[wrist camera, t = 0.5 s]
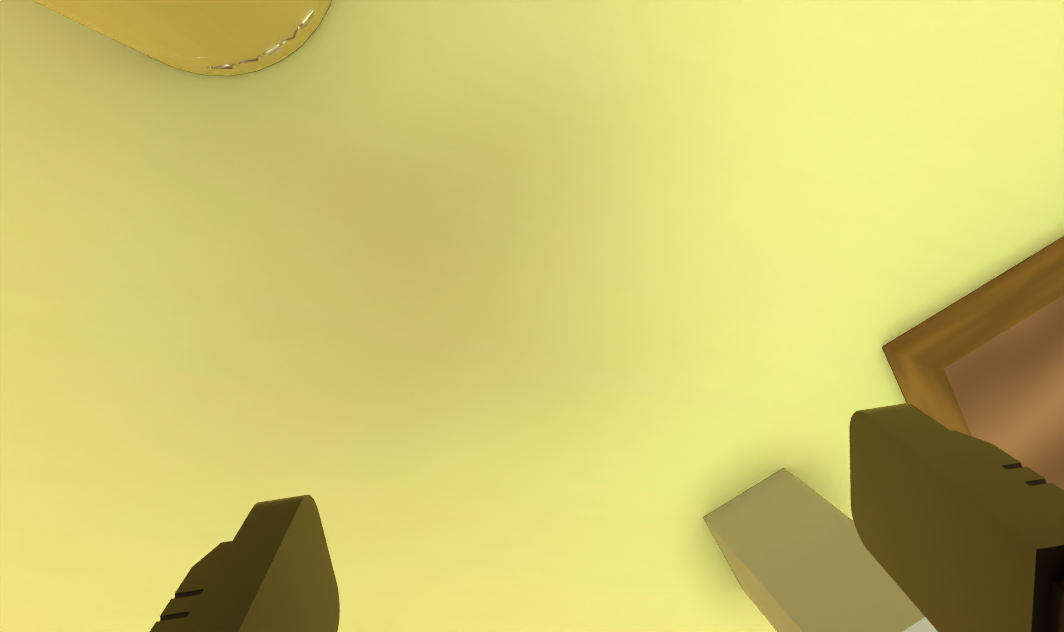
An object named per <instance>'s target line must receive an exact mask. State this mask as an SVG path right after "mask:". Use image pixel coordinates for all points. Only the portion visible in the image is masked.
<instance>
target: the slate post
mask: <svg viewBox="0 0 1064 632" xmlns="http://www.w3.org/2000/svg"><path fill="white" fill-rule="evenodd" d="M703 518H704V520H705V522H706V523H707V525H708V527H709V529H710V531H711V532H712V534H713V536H714V538H715V540H716V542H717V543H718V545H719V547H720V549H721V551H722V552H723V554H724V556H725V558H726V560H727V562H728V563H729V565H730V567H731V569H732V571H733V572H734V574H735V576H736V578H737V580H738V582H739V583H740V585H741V587H742V589H743V590H744V592H745V593H746V594H747V595H748V596H749V598H750V599H751V600H752V601H753V603H754V604H755V605H756V606H757V607H758V609H759V610H760V611H761V612H762V614H763V615H764V616H765V617H766V619H767V620H768V621H769V622H770V623H771V625H772V626H773V627H774V628H775V630H776V631H777V632H938V631H937V630H936V629H935V628H934V626H933V625H932V624H931V623H930V622H929V621H928V619H927V618H926V617H925V616H924V615H923V614H922V613H921V611H920V610H919V609H918V608H917V607H916V606H915V604H914V603H913V602H912V601H911V600H910V599H909V597H908V596H907V595H906V594H905V593H904V592H903V591H902V589H901V588H900V587H899V586H898V585H897V584H896V582H895V581H894V580H893V579H892V578H891V577H890V576H889V574H888V573H887V572H886V571H885V570H884V569H883V567H882V566H881V565H880V564H879V563H878V562H877V560H876V559H875V558H874V557H873V556H872V555H871V554H870V552H869V551H868V550H867V549H866V547H865V546H864V544H863V543H862V541H861V539H860V537H859V535H858V532H857V530H856V527H855V524H854V521H853V520H851V519H850V518H849V517H847V516H846V515H845V514H843V513H842V512H841V511H840V510H838V509H837V508H836V507H834V506H833V505H832V504H830V503H829V502H828V501H826V500H825V499H824V498H823V497H821V496H820V495H819V494H817V493H816V492H815V491H813V490H812V489H811V488H809V487H808V486H807V485H806V484H804V483H803V482H802V481H800V480H799V479H798V478H796V477H795V476H794V475H792V474H791V473H790V472H789V471H787V470H786V469H785V468H783V469H781V470H780V471H778V472H776V473H775V474H773V475H772V476H770V477H768V478H767V479H765V480H763V481H762V482H760V483H758V484H757V485H755V486H754V487H752V488H750V489H749V490H747V491H745V492H744V493H742V494H741V495H739V496H737V497H736V498H734V499H732V500H731V501H729V502H728V503H726V504H724V505H723V506H721V507H719V508H718V509H716V510H715V511H713V512H711V513H710V514H708V515H706V516H705V517H703Z"/></svg>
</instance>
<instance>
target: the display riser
mask: <svg viewBox="0 0 1064 632" xmlns="http://www.w3.org/2000/svg"><path fill="white" fill-rule="evenodd" d="M882 348H883V350H884V352H885V355H886V357H887V359H888V361H889V364H890V366H891V368H892V370H893V373H894V375H895V377H896V380H897V382H898V384H899V386H900V389H901V391H902V393H903V395H904V398H905V400H906V402H907V403H908V404H912V405H914V406H915V407H917V408H918V409H920V410H921V411H922V412H924V413H925V414H927V415H928V416H930V417H931V418H933V419H934V420H936V421H937V422H938V423H940V424H941V425H943V426H944V427H946V428H947V429H949V430H956V431H958V432H961V433H964V434H967V435H969V436H972V437H975V438H978V439H981V440H983V441H986V442H989V443H992V444H994V445H995V446H997V447H998V448H1000V449H1001V450H1003V451H1004V452H1006V453H1007V454H1009V455H1010V456H1012V457H1013V458H1015V459H1016V460H1018V461H1019V462H1021V465H1022V467H1029V468H1030V469H1032V470H1033V471H1035V472H1036V473H1038V474H1039V475H1041V476H1042V477H1044V478H1045V479H1046V482H1047V483H1053V484H1054V485H1056V486H1057V487H1059V488H1061V489H1062V490H1064V237H1062V238H1061V239H1059V240H1057V241H1056V242H1054V243H1053V244H1051V245H1049V246H1048V247H1046V248H1044V249H1043V250H1041V251H1039V252H1038V253H1036V254H1034V255H1033V256H1031V257H1030V258H1028V259H1026V260H1025V261H1023V262H1021V263H1020V264H1018V265H1016V266H1015V267H1013V268H1011V269H1010V270H1008V271H1007V272H1005V273H1003V274H1002V275H1000V276H998V277H997V278H995V279H993V280H992V281H990V282H988V283H987V284H985V285H984V286H982V287H980V288H979V289H977V290H975V291H974V292H972V293H970V294H969V295H967V296H965V297H964V298H962V299H961V300H959V301H957V302H956V303H954V304H952V305H951V306H949V307H947V308H946V309H944V310H942V311H941V312H939V313H938V314H936V315H934V316H933V317H931V318H929V319H928V320H926V321H924V322H923V323H921V324H919V325H918V326H916V327H915V328H913V329H911V330H910V331H908V332H906V333H905V334H903V335H901V336H900V337H898V338H896V339H895V340H893V341H892V342H890V343H888V344H887V345H885V346H883V347H882Z"/></svg>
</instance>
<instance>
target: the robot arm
mask: <svg viewBox="0 0 1064 632" xmlns="http://www.w3.org/2000/svg"><path fill="white" fill-rule="evenodd" d="M33 1H35V2H37V3H39V4H42V5H44V6H46V7H48V8H50V9H52V10H54V11H56V12H58V13H60V14H62V15H64V16H67V17H69V18H71V19H73V20H75V21H77V22H79V23H81V24H83V25H85V26H87V27H89V28H91V29H94V30H96V31H98V32H100V33H102V34H104V35H106V36H108V37H110V38H112V39H114V40H116V41H118V42H120V43H122V44H124V45H126V46H129V47H131V48H133V49H135V50H137V51H140V52H142V53H144V54H146V55H148V56H150V57H153V58H155V59H157V60H159V61H161V62H163V63H165V64H168V65H170V66H172V67H174V68H177V69H181V70H186V71H190V72H194V73H198V74H202V75H225V76H231V75H237V74H242V73H248V72H254V71H258V70H260V69H262V68H265V67H267V66H270V65H272V64H274V63H277V62H279V61H281V60H282V59H284V58H285V57H287V56H288V55H289V54H291V53H292V52H293V51H295V50H296V49H298V48H299V47H300V46H302V44H303V43H304V42H305V41H306V40H307V39H308V38H309V36H310V35H311V34H312V33H313V32H314V31H315V30H316V28H317V27H318V26H319V24H320V22H321V20H322V18H323V16H324V15H325V13H326V11H327V9H328V7H329V5H330V3H331V0H33ZM850 481H851V510H852V516H853V520H854V524H855V527H856V530H857V532H858V535H859V537H860V539H861V541H862V543H863V544H864V546H865V547H866V549H867V550H868V551H869V552H870V554H871V555H872V556H873V557H874V558H875V559H876V560H877V562H878V563H879V564H880V565H881V566H882V567H883V569H884V570H885V571H886V572H887V573H888V574H889V576H890V577H891V578H892V579H893V580H894V581H895V582H896V584H897V585H898V586H899V587H900V588H901V589H902V591H903V592H904V593H905V594H906V595H907V596H908V597H909V599H910V600H911V601H912V602H913V603H914V604H915V606H916V607H917V608H918V609H919V610H920V611H921V613H922V614H923V615H924V616H925V617H926V618H927V619H928V621H929V622H930V623H931V624H932V625H933V626H934V628H935V629H936V630H937V631H938V632H1064V490H1062V489H1061V488H1059V487H1057V486H1056V485H1054V484H1053V483H1047V482H1046V479H1045V478H1044V477H1042V476H1041V475H1039V474H1038V473H1036V472H1035V471H1033V470H1032V469H1030V468H1029V467H1022V465H1021V462H1019V461H1018V460H1016V459H1015V458H1013V457H1012V456H1010V455H1009V454H1007V453H1006V452H1004V451H1003V450H1001V449H1000V448H998V447H997V446H995V445H994V444H992V443H989V442H986V441H983V440H981V439H978V438H975V437H972V436H969V435H967V434H964V433H961V432H958V431H956V430H949V429H947V428H946V427H944V426H943V425H941V424H940V423H938V422H937V421H936V420H934V419H933V418H931V417H930V416H928V415H927V414H925V413H924V412H922V411H921V410H920V409H918V408H917V407H915V406H914V405H912V404H908V403H905V404H899V405H892V406H886V407H879V408H873V409H866V410H860V411H856V412H855V413H854V414H853V415H852V417H851V421H850ZM339 612H340V610H339V593H338V587H337V583H336V579H335V575H334V571H333V567H332V563H331V559H330V555H329V551H328V547H327V543H326V539H325V535H324V531H323V527H322V524H321V520H320V516H319V512H318V508H317V506H316V503H315V501H314V499H313V498H312V497H311V496H310V495H304V496H297V497H291V498H284V499H278V500H272V501H265V502H259V503H256V504H255V505H254V507H253V508H252V510H251V511H250V513H249V515H248V516H247V518H246V520H245V521H244V523H243V525H242V526H241V528H240V530H239V531H238V533H237V535H236V536H235V538H234V540H233V541H229V542H223V543H220V544H219V545H218V546H217V547H216V548H214V549H213V550H212V551H211V552H210V553H208V554H207V555H206V556H205V557H204V558H203V559H201V560H200V561H199V562H198V563H197V564H195V565H194V566H193V567H192V568H191V570H190V571H189V573H188V574H187V576H186V577H185V579H184V580H183V582H182V583H181V585H180V586H179V588H178V590H177V591H176V593H175V598H174V599H171V600H170V602H169V603H168V605H167V606H166V608H165V609H164V611H163V612H162V614H161V615H160V621H158V622H156V623H155V625H154V626H153V628H152V629H151V631H150V632H337V630H338V625H339Z"/></svg>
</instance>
